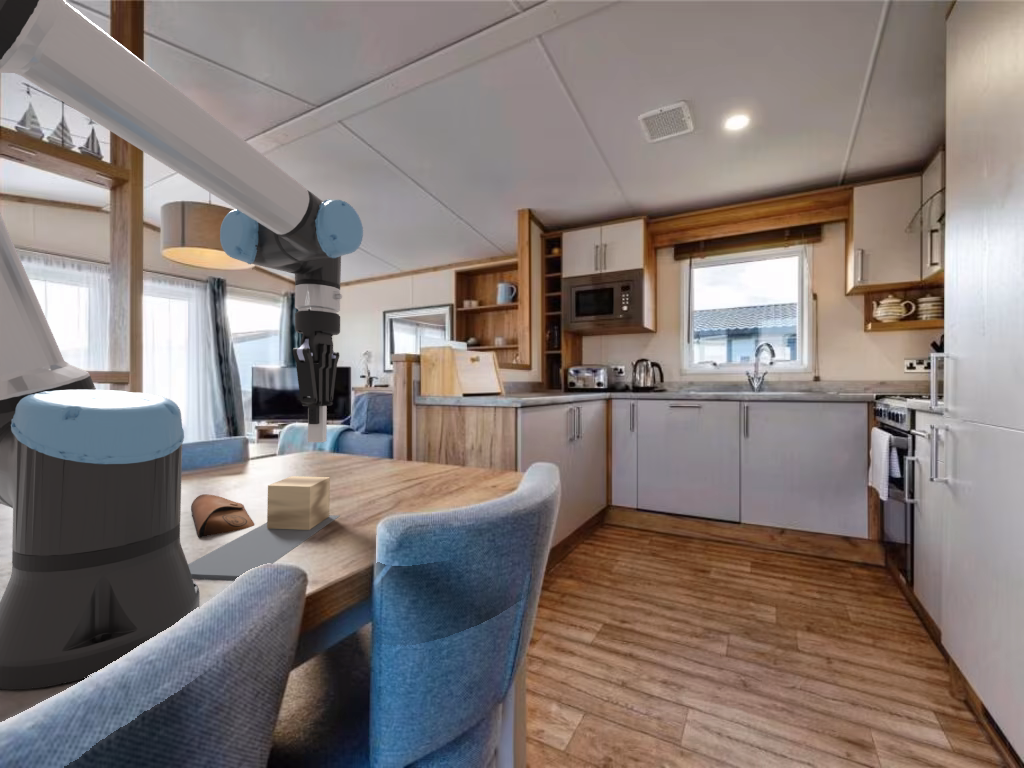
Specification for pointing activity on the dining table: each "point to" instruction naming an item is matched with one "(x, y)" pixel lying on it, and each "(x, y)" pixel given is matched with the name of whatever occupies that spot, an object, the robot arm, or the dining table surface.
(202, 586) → the dining table surface
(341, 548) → the dining table surface
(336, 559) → the dining table surface
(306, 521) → the maple cube
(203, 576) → the mat
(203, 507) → the sunglasses case
